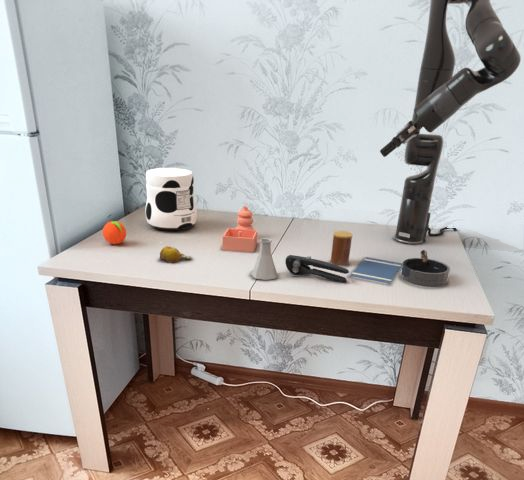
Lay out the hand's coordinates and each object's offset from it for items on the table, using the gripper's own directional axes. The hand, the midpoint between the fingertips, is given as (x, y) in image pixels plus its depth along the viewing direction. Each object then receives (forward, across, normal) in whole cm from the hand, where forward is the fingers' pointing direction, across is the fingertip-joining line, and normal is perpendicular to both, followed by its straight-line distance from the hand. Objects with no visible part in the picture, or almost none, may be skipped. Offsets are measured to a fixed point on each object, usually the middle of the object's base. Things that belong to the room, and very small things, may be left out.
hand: (384, 152), depth 136 cm
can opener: (+29, +21, +14) cm, 39 cm away
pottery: (+50, +2, -7) cm, 51 cm away
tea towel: (+19, +8, +24) cm, 32 cm away
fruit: (+58, +26, -14) cm, 65 cm away
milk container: (+70, -2, -27) cm, 75 cm away
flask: (+38, +26, +5) cm, 47 cm away
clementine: (+74, +23, -30) cm, 83 cm away
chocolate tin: (+27, +7, +17) cm, 32 cm away
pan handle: (+9, -1, +31) cm, 32 cm away
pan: (+10, +8, +34) cm, 36 cm away
